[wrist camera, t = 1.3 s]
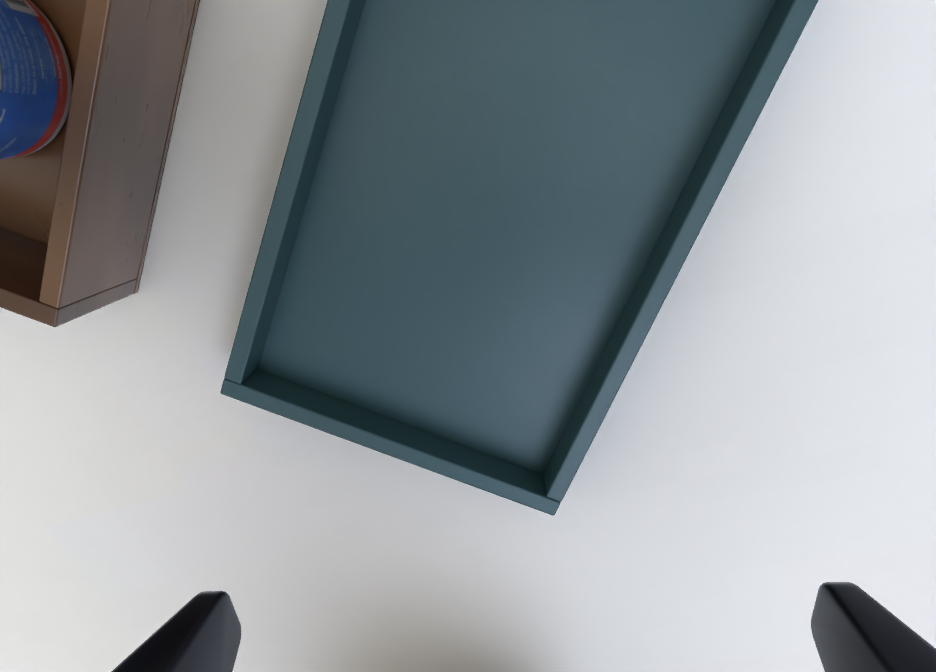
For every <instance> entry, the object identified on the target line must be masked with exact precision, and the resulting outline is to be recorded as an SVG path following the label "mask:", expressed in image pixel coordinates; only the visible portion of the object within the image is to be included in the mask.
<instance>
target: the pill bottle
mask: <svg viewBox="0 0 936 672" xmlns="http://www.w3.org/2000/svg"><path fill="white" fill-rule="evenodd" d="M71 94H72V79H71V71H70V66H69V62H68V58H67V55H66V52H65V49H64V46H63V44H62V42H61V40H60V38H59V36H58V34H57V32H56V30H55V28H54V27H53V25H52V24H51V22H50V21H49V20H48V18H47V17H46V16H45V15H44V14H43V12H42V11H41V10H40V9H39V8H38V7H37V6H36V5H35V4H34V3H33V2H32V1H31V0H0V159H8V158H15V157H21V156H25V155H28V154H31V153H33V152H36V151H38V150H40V149H41V148H43V147H44V146H46V145H47V144H48V143H50V142H51V141H52V140H53V139H54V138H55V136H56V135H57V134H58V133H59V131H60V130H61V128H62V126H63V125H64V123H65V121H66V118H67V115H68V112H69V107H70V100H71Z"/></svg>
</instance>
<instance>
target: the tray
mask: <svg viewBox="0 0 936 672" xmlns="http://www.w3.org/2000/svg"><path fill="white" fill-rule="evenodd" d="M817 2H818V0H328V2H327V5H326V9H325V13H324V16H323V20H322V23H321V27H320V31H319V34H318V38H317V42H316V45H315V49H314V53H313V56H312V60H311V63H310V67H309V71H308V74H307V78H306V82H305V85H304V89H303V93H302V96H301V100H300V104H299V107H298V111H297V114H296V118H295V122H294V125H293V129H292V133H291V136H290V140H289V144H288V147H287V151H286V155H285V158H284V162H283V165H282V169H281V173H280V176H279V180H278V184H277V187H276V191H275V195H274V198H273V202H272V206H271V209H270V213H269V216H268V220H267V224H266V227H265V231H264V235H263V238H262V242H261V246H260V249H259V253H258V256H257V260H256V264H255V267H254V271H253V275H252V278H251V282H250V286H249V289H248V293H247V297H246V300H245V304H244V307H243V311H242V315H241V318H240V322H239V326H238V329H237V333H236V337H235V340H234V344H233V348H232V351H231V355H230V358H229V362H228V366H227V369H226V373H225V379H224V381H223V384H222V388H221V394H223V395H226V396H229V397H232V398H234V399H237V400H240V401H242V402H245V403H248V404H251V405H253V406H256V407H259V408H262V409H264V410H267V411H270V412H272V413H275V414H278V415H281V416H283V417H286V418H289V419H292V420H294V421H297V422H300V423H302V424H305V425H308V426H311V427H313V428H316V429H319V430H321V431H324V432H327V433H330V434H332V435H335V436H338V437H341V438H343V439H346V440H349V441H351V442H354V443H357V444H360V445H362V446H365V447H368V448H371V449H373V450H376V451H379V452H381V453H384V454H387V455H390V456H392V457H395V458H398V459H400V460H403V461H406V462H409V463H411V464H414V465H417V466H420V467H422V468H425V469H428V470H430V471H433V472H436V473H439V474H441V475H444V476H447V477H450V478H452V479H455V480H458V481H460V482H463V483H466V484H469V485H471V486H474V487H477V488H480V489H482V490H485V491H488V492H490V493H493V494H496V495H499V496H501V497H504V498H507V499H509V500H512V501H515V502H518V503H520V504H523V505H526V506H529V507H531V508H534V509H537V510H539V511H542V512H545V513H548V514H550V515H555V513H556V511H557V509H558V507H559V505H560V502H561V501H562V499H563V497H564V495H565V494H566V492H567V490H568V488H569V486H570V484H571V482H572V480H573V478H574V476H575V474H576V472H577V470H578V468H579V466H580V464H581V462H582V460H583V458H584V456H585V455H586V453H587V451H588V449H589V447H590V445H591V443H592V441H593V439H594V437H595V435H596V433H597V431H598V429H599V427H600V425H601V423H602V421H603V419H604V417H605V416H606V414H607V412H608V410H609V408H610V406H611V404H612V402H613V400H614V398H615V396H616V394H617V392H618V390H619V388H620V386H621V384H622V382H623V380H624V378H625V377H626V375H627V373H628V371H629V369H630V367H631V365H632V363H633V361H634V359H635V357H636V355H637V353H638V351H639V349H640V347H641V345H642V343H643V341H644V339H645V338H646V336H647V334H648V332H649V330H650V328H651V326H652V324H653V322H654V320H655V318H656V316H657V314H658V312H659V310H660V308H661V306H662V304H663V302H664V300H665V299H666V297H667V295H668V293H669V291H670V289H671V287H672V285H673V283H674V281H675V279H676V277H677V275H678V273H679V271H680V269H681V267H682V265H683V263H684V261H685V260H686V258H687V256H688V254H689V252H690V250H691V248H692V246H693V244H694V242H695V240H696V238H697V236H698V234H699V232H700V230H701V228H702V226H703V224H704V222H705V220H706V219H707V217H708V215H709V213H710V211H711V209H712V207H713V205H714V203H715V201H716V199H717V197H718V195H719V193H720V191H721V189H722V187H723V185H724V183H725V181H726V180H727V178H728V176H729V174H730V172H731V170H732V168H733V166H734V164H735V162H736V160H737V158H738V156H739V154H740V152H741V150H742V148H743V146H744V144H745V142H746V141H747V139H748V137H749V135H750V133H751V131H752V129H753V127H754V125H755V123H756V121H757V119H758V117H759V115H760V113H761V111H762V109H763V107H764V105H765V103H766V102H767V100H768V98H769V96H770V94H771V92H772V90H773V88H774V86H775V84H776V82H777V80H778V78H779V76H780V74H781V72H782V70H783V68H784V66H785V64H786V63H787V61H788V59H789V57H790V55H791V53H792V51H793V49H794V47H795V45H796V43H797V41H798V39H799V37H800V35H801V33H802V31H803V29H804V27H805V25H806V24H807V22H808V20H809V18H810V16H811V14H812V12H813V10H814V8H815V6H816V4H817Z"/></svg>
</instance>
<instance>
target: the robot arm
mask: <svg viewBox="0 0 936 672" xmlns="http://www.w3.org/2000/svg"><path fill="white" fill-rule="evenodd" d="M811 629H812V634H813V638H814V641H815V644H816V647H817V650H818V653H819V656H820V659H821V662H822V664H823V667H824V670H825V672H936V649H935V648H934V647H933V646H932V645H930V644H929V643H928V642H927V641H925V640H924V639H923V638H922V637H920V636H919V635H918V634H917V633H915V632H914V631H913V630H912V629H910V628H909V627H908V626H907V625H906V624H904V623H903V622H902V621H901V620H899V619H898V618H897V617H896V616H894V615H893V614H892V613H891V612H889V611H888V610H887V609H886V608H884V607H883V606H882V605H881V604H879V603H878V602H877V601H876V600H874V599H873V598H872V597H871V596H869V595H868V594H867V593H866V592H864V591H863V590H862V589H861V588H859V587H858V586H856V585H855V584H853V583H849V582H826V583H823V584H822V585H821V586H820V587H819V590H818V594H817V598H816V602H815V606H814V610H813V614H812V619H811ZM240 639H241V625H240V622H239V619H238V617H237V614H236V612H235V609H234V606H233V604H232V601H231V599H230V596H229V595H228V594H227V593H226V592H224V591H206V592H201V593H199V594H197V595H196V596H195V597H194V598H193V599H191V600H190V601H189V602H188V603H187V604H186V605H185V606H184V607H183V608H181V609H180V610H179V611H178V612H177V613H176V614H175V615H174V616H173V617H171V618H170V619H169V620H168V621H167V622H166V623H165V624H164V625H163V626H161V627H160V628H159V629H158V630H157V631H156V632H155V633H154V634H153V635H152V636H150V637H149V638H148V639H147V640H146V641H145V642H144V643H143V644H142V645H140V646H139V647H138V648H137V649H136V650H135V651H134V652H133V653H132V654H130V655H129V656H128V657H127V658H126V659H125V660H124V661H123V662H122V663H120V664H119V665H118V666H117V667H116V668H115V669H114V670H113V671H112V672H232V671H233V667H234V663H235V659H236V655H237V652H238V648H239V644H240Z"/></svg>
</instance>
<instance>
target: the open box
mask: <svg viewBox="0 0 936 672" xmlns="http://www.w3.org/2000/svg"><path fill="white" fill-rule="evenodd" d="M31 1H32V2H33V3H34V4H35V5H36V6H37V7H38V8H39V9H40V10H41V11H42V12H43V14H44V15H45V16H46V17H47V18H48V20H49V21H50V22H51V24H52V25H53V27H54V28H55V30H56V32H57V34H58V36H59V38H60V40H61V42H62V44H63V46H64V49H65V52H66V55H67V58H68V62H69V66H70V71H71V79H72V94H71V100H70V107H69V112H68V115H67V118H66V121H65V123H64V125H63V126H62V128H61V130H60V131H59V133H58V134H57V135H56V136H55V138H54V139H53V140H52V141H51V142H50V143H48V144H47V145H46V146H44V147H43V148H41V149H40V150H38V151H36V152H33V153H31V154H28V155H25V156H21V157H15V158H8V159H0V307H1V308H4V309H7V310H9V311H12V312H15V313H17V314H20V315H23V316H26V317H28V318H31V319H34V320H37V321H39V322H42V323H45V324H47V325H50V326H53V327H57V326H59V325H61V324H64V323H66V322H68V321H71V320H73V319H75V318H78V317H80V316H82V315H85V314H87V313H89V312H92V311H94V310H96V309H99V308H101V307H103V306H106V305H108V304H110V303H113V302H115V301H117V300H120V299H122V298H124V297H127V296H129V295H131V294H133V293H134V294H135V293H137V292H138V287H139V282H140V278H141V273H142V268H143V264H144V259H145V254H146V249H147V245H148V240H149V235H150V231H151V226H152V221H153V216H154V212H155V207H156V202H157V198H158V193H159V188H160V183H161V179H162V174H163V169H164V165H165V160H166V155H167V150H168V146H169V141H170V136H171V132H172V127H173V122H174V117H175V113H176V108H177V103H178V99H179V94H180V89H181V84H182V80H183V75H184V70H185V66H186V61H187V56H188V52H189V47H190V42H191V37H192V33H193V28H194V23H195V19H196V14H197V9H198V4H199V0H31Z"/></svg>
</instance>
